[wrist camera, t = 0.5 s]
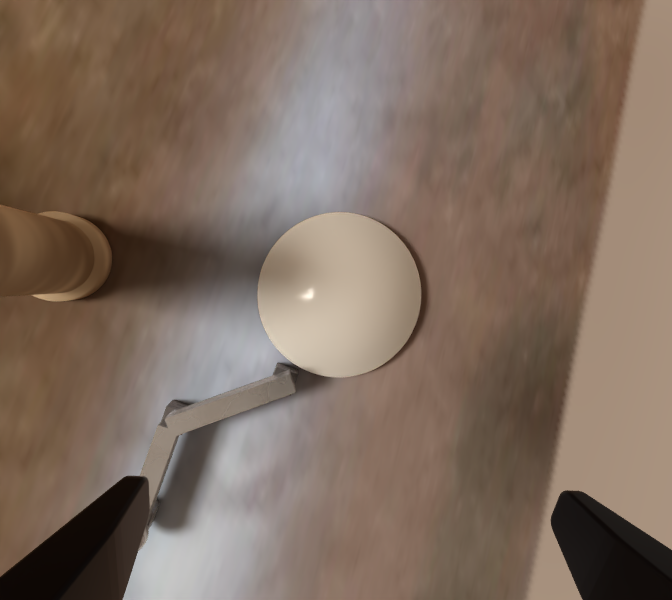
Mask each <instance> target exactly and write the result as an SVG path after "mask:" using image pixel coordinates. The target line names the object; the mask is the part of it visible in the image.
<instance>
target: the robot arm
mask: <svg viewBox="0 0 672 600" xmlns="http://www.w3.org/2000/svg"><path fill="white" fill-rule="evenodd" d="M149 512H150V498H149V481H148V478H147V477H145V476H126V477H124V478H122V479H121V480H120V481H119V482H117V483H116V484H115V485H114V486H112V487H111V488H110V489H109V490H107V491H106V492H105V493H104V494H102V495H101V496H100V497H99V498H97V499H96V500H95V501H94V502H92V503H91V504H90V505H89V506H88V507H86V508H85V509H84V510H83V511H81V512H80V513H79V514H78V515H76V516H75V517H74V518H73V519H71V520H70V521H69V522H68V523H66V524H65V525H64V526H63V527H61V528H60V529H59V530H58V531H57V532H55V533H54V534H53V535H52V536H50V537H49V538H48V539H47V540H45V541H44V542H43V543H42V544H40V545H39V546H38V547H37V548H35V549H34V550H33V551H32V552H30V553H29V554H28V555H27V556H26V557H24V558H23V559H22V560H21V561H19V562H18V563H17V564H16V565H14V566H13V567H12V568H11V569H9V570H8V571H7V572H6V573H4V574H3V575H2V576H1V577H0V600H123V597H124V594H125V591H126V587H127V584H128V581H129V578H130V575H131V572H132V568H133V565H134V562H135V559H136V556H137V553H138V549H139V546H140V543H141V540H142V537H143V534H144V531H145V527H146V524H147V521H148V517H149ZM551 526H552V529H553V532H554V534H555V537H556V539H557V541H558V544H559V546H560V548H561V551H562V553H563V555H564V558H565V560H566V562H567V565H568V567H569V570H570V571H571V574H572V577H573V579H574V581H575V584H576V586H577V588H578V591H579V593H580V595H581V597H582V599H583V600H672V550H671V549H669V548H668V547H666V546H665V545H663V544H662V543H660V542H659V541H657V540H656V539H654V538H652V537H651V536H650V535H648V534H646V533H645V532H643V531H642V530H640V529H639V528H637V527H635V526H634V525H632V524H631V523H630V522H628V521H627V520H625V519H624V518H622V517H620V516H619V515H617V514H616V513H614V512H613V511H611V510H610V509H608V508H607V507H605V506H604V505H602V504H600V503H599V502H597V501H596V500H595V499H593V498H591V497H590V496H588V495H587V494H585V493H584V492H580V491H563V492H562V493H561V494H560V496H559V498H558V501H557V504H556V506H555V508H554V511H553V513H552V516H551Z"/></svg>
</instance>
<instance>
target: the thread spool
mask: <svg viewBox="0 0 672 600" xmlns="http://www.w3.org/2000/svg"><path fill="white" fill-rule="evenodd" d="M111 267H112V252H111V248H110V245H109V242H108V240H107V238H106V237H105V235H104V234H103V233H102V231H101V230H100V229H99V228H98V227H97V226H95V225H94V224H93V223H91V222H90V221H88V220H86V219H84V218H81V217H78V216H74V215H71V214H67V213H64V212H57V211H49V212H42V213H38V214H35V213H31V212H27V211H23V210H20V209H16V208H12V207H8V206H4V205H0V297H5V296H21V295H33V296H35V297H37V298H40V299H43V300H47V301H69V300H77V299H81V298H84V297H87V296H89V295H91V294H93V293H94V292H96V291H97V290H98V289H99V288H100V287H101V286H102V285H103V284H104V283H105V281H106V280H107V278H108V276H109V274H110V271H111Z"/></svg>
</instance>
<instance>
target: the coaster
mask: <svg viewBox="0 0 672 600" xmlns="http://www.w3.org/2000/svg"><path fill="white" fill-rule="evenodd" d="M257 301H258V309H259V314H260V318H261V322H262V324H263V326H264V329H265V331H266V333H267V335H268V337H269V338H270V340H271V342H272V343H273V344H274V346H275V347H276V348H277V349H278V351H279V352H280V353H281V354H282V355H283V356H284V357H286V358H287V359H288V360H289V361H291V362H292V363H293V364H295V365H297V366H298V367H300V368H302V369H304V370H306V371H309V372H311V373H314V374H318V375H322V376H328V377H350V376H356V375H360V374H363V373H367V372H369V371H371V370H374V369H376V368H378V367H379V366H381V365H383V364H384V363H386V362H387V361H388V360H390V359H391V358H392V357H393V356H394V355H395V354H396V353H397V352H398V351H400V349H401V348H402V347H403V346H404V344H405V343H406V342H407V340H408V338H409V337H410V335H411V333H412V332H413V329H414V327H415V325H416V322H417V319H418V315H419V311H420V305H421V283H420V278H419V273H418V270H417V267H416V264H415V261H414V259H413V257H412V256H411V254H410V252H409V250H408V249H407V247H406V246H405V244H404V243H403V242H402V241H401V240H400V239H399V237H398V236H397V235H396V234H394V233H393V232H392V231H391V230H390V229H389V228H387V227H386V226H384V225H383V224H381V223H379V222H377V221H375V220H373V219H371V218H369V217H366V216H362V215H359V214H354V213H346V212H334V213H325V214H321V215H316V216H314V217H311V218H308V219H306V220H304V221H302V222H300V223H298V224H296V225H295V226H294V227H292V228H291V229H289V230H288V231H287V232H286V233H285V234H284V235H283V236H282V237H281V238H279V240H278V241H277V242H276V243H275V245H274V246H273V247H272V249H271V250H270V252H269V254H268V255H267V257H266V259H265V262H264V264H263V266H262V269H261V273H260V276H259V282H258V288H257Z"/></svg>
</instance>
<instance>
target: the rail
mask: <svg viewBox="0 0 672 600" xmlns="http://www.w3.org/2000/svg"><path fill="white" fill-rule="evenodd" d="M297 376H298V369H295V368H292V367H289V366H286V365H283V364H280V363H277V365H276V368H275V370H274V373H273V376H270V377H267V378H264V379H262V380H259V381H256V382H253V383H250V384H248V385H245V386H242V387H239V388H236V389H234V390H231V391H228V392H225V393H222V394H220V395H217V396H214V397H211V398H208V399H206V400H203V401H200V402H197V403H194V404H192V405H188V404H185V403H182V402H178V401H175V400H172V401H171V402H170V403H169V404H168V405H167V407H166V409H165V412H164V415H163V418H162V420H161V422H160V423H159V425H158V426H157V429H156V432H155V435H154V437H153V440H152V443H151V446H150V449H149V451H148V454H147V457H146V460H145V462H144V465H143V468H142V471H141V474H140V476H145V477H147V478H148V481H149V498H150V512H149V517H148V521H147V524H146V527H145V531H144V534H143V537H142V540H141V543H140V546H139V549H138V551H139V550H140V549H141V548H142V547H143V546H144V544H145V543H146V541H147V538H148V534H149V528H150V526H151V525H152V523H153V521H154V518H155V515H156V513H157V510H158V507H159V504H160V501H159V500H156V499H157V496H158V494H159V491H160V488H161V485H162V482H163V480H164V477H165V474H166V471H167V469H168V466H169V463H170V460H171V458H172V455H173V452H174V449H175V446H176V444H177V441H178V438H179V435H182V434H183V433H186V432H189V431H191V430H194V429H197V428H200V427H202V426H205V425H208V424H211V423H213V422H216V421H219V420H222V419H224V418H227V417H230V416H233V415H235V414H238V413H241V412H244V411H246V410H249V409H252V408H255V407H257V406H260V405H263V404H266V403H268V402H271V401H274V400H277V399H279V398H282V397H285V396H288V395H291V394H293V393H296V387H295V381H296V379H297Z"/></svg>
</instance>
